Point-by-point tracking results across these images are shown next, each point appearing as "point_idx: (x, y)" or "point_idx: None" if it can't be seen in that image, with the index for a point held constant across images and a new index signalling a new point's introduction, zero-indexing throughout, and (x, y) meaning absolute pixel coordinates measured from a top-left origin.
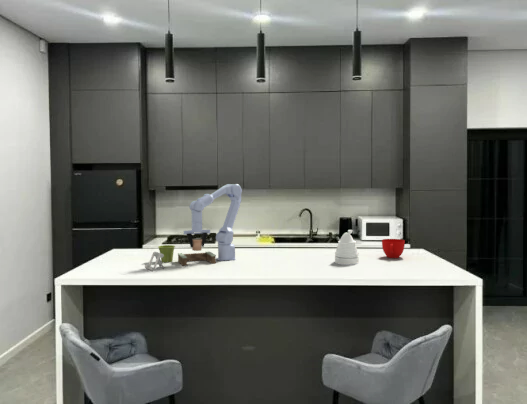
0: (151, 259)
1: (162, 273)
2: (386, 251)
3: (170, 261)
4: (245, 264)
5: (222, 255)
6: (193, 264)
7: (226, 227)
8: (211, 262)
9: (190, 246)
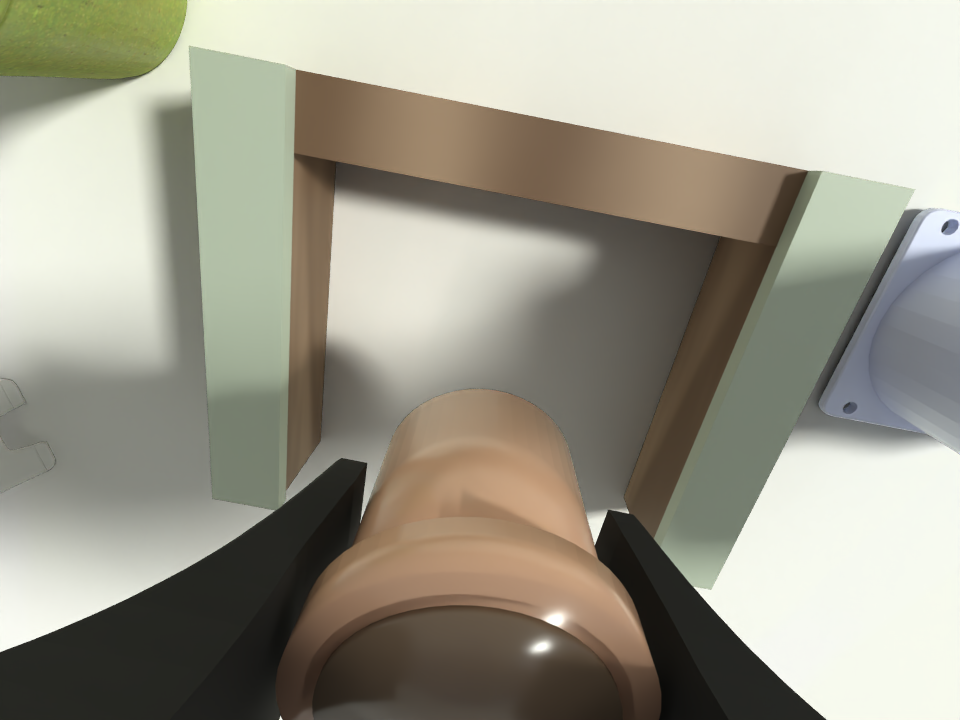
0: None
1: (46, 628)
2: None
3: (144, 70)
4: (867, 688)
5: (930, 431)
6: None
7: None
8: (634, 481)
9: (331, 465)
